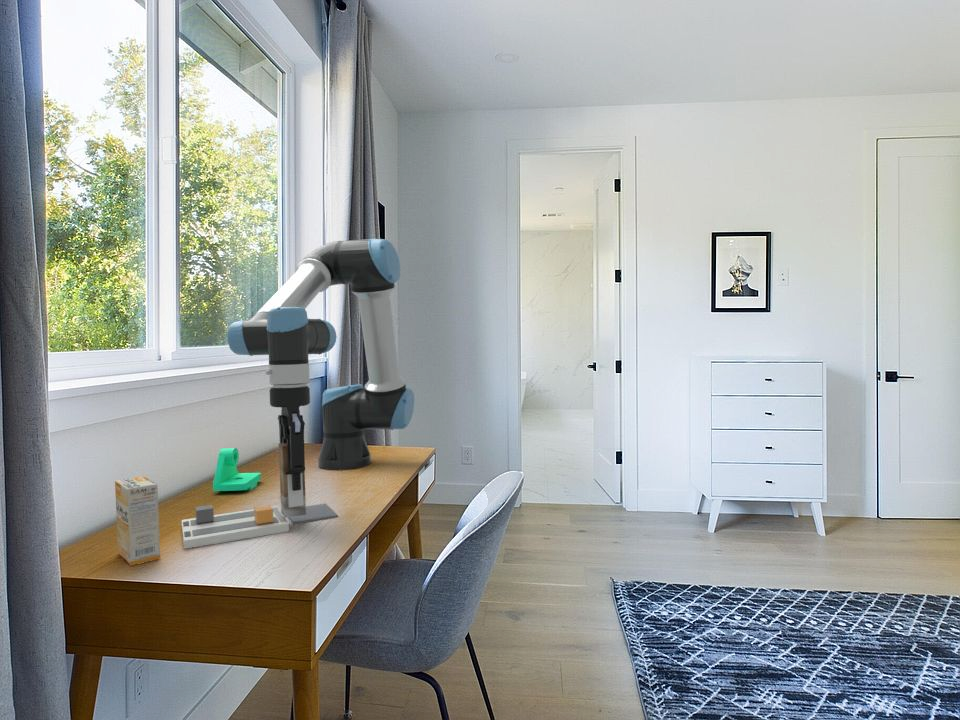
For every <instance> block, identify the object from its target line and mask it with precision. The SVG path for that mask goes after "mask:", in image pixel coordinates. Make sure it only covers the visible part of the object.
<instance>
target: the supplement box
mask: <svg viewBox="0 0 960 720" xmlns="http://www.w3.org/2000/svg"><path fill="white" fill-rule="evenodd" d="M114 490H115V491H114V492H115V512H116V513H115V514H116V536H117V537H116V538H117V553H118V555H119V556H120V557H122V558H123V560H125V561H126V562H127V564H129V565H130V566H131V567H133V566H132V565H134V566H136V565H135V564H138V565H140V564H139V563H142V564H144V563H143V562H146V563H148V561H150V562H153V561H152V560H154V561H157V560H160V559H161V545H160V544H161V543H160V542H161V541H160V540H161V539H160V518H159V517H160V516H159V493H158V492H159V491H158V484H157V483H155V481H152V480H150V479H148V477H147V478H146V476H144V475H142V476H137V477H129V478H122V479H119V480H118V479H117V480H115V481H114ZM156 559H157V560H156Z"/></svg>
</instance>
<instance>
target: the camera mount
mask: <svg viewBox="0 0 960 720" xmlns="http://www.w3.org/2000/svg"><path fill="white" fill-rule="evenodd" d="M239 455H240V453H239V449H238V448H237V447H229V448H228V447H227V448H225V447H223V448H221V449H220V450H219V453H218V457H217V461H216V462H217V463H216V468H215V472H214V477H213V482H212V491H213V492H229V491H230V492H231V491H232V492H233V491H251V490H253V489H255V488H256V487H257V486H258V482H259V481H261V479H262V472H242V473H241V472H239V471H238V467H237V465H238V463H239V458H240V456H239Z"/></svg>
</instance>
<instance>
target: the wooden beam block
mask: <svg viewBox="0 0 960 720" xmlns="http://www.w3.org/2000/svg"><path fill="white" fill-rule="evenodd" d="M278 461H279V462H278V464H279V485H280V486H279V488H280V490H279V491H280V492H279V493H280V512H281V513H282V515H283V516H284V517H285V519H289V517H295V516H301V515H306V506H307V505H306V504H307V503H306V502H307V501H306V481H305V480H306V477H305V474H306V473H305V472H306V470H305V471H303V473H302V476H303V506H297V507H290V508H289V507H288V478H287V475H285V472H288V470H289V467H288V453H287V443H280V442H279V443H278Z"/></svg>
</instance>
